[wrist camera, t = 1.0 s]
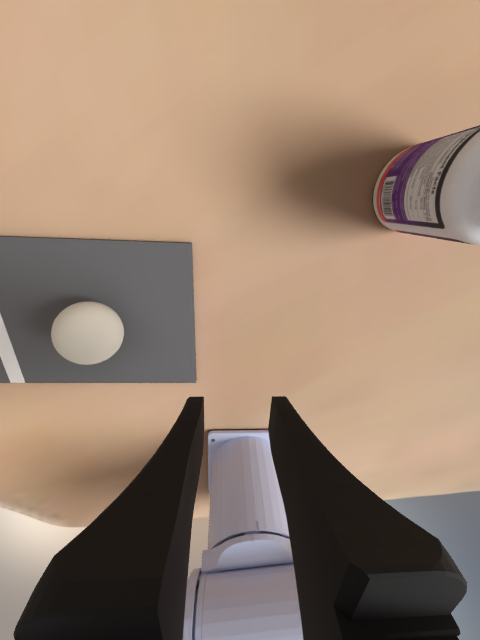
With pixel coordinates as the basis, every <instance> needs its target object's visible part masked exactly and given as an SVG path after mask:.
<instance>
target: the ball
mask: <svg viewBox="0 0 480 640" xmlns="http://www.w3.org/2000/svg"><path fill="white" fill-rule="evenodd" d="M123 337H124V327H123V323H122V321H121V319H120V317H119V316H118V314H117V313H116V312H115V311H114V310H113V309H111V308H110V307H108V306H106V305H104V304H101V303H98V302H91V301H87V302H79V303H76V304H73V305H70V306H69V307H67V308H65V309H64V310H63V311H61V312H60V313H59V315H58V316H57V317H56V319H55V320H54V322H53V325H52V329H51V338H52V343H53V345H54V347H55V349H56V350H57V352H58V353H59V354H60V355H61V356H62V357H64V358H65V359H67V360H69V361H71V362H74V363H77V364H83V365H91V364H96V363H100V362H103V361H105V360H107V359H108V358H110V357H111V356H113V355H114V354H115V353H116V352H117V350H118V349H119V348H120V346H121V344H122V341H123Z"/></svg>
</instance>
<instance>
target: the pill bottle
mask: <svg viewBox="0 0 480 640" xmlns="http://www.w3.org/2000/svg"><path fill="white" fill-rule="evenodd" d="M373 205H374V210H375V213H376V215H377V217H378V219H379V220H380V222H381V223H382V224H383V225H384V226H386V227H387V228H389V229H391V230H394V231H397V232H401V233H406V234H413V235H419V236H426V237H432V238H438V239H443V240H449V241H455V242H461V243H467V244H476V245H480V125H479V126H476V127H473V128H470V129H466V130H463V131H460V132H457V133H454V134H451V135H447V136H444V137H441V138H437V139H434V140H431V141H427V142H424V143H420V144H417V145H415V146H412V147H409V148H407V149H405V150H403V151H401V152H400V153H398V154H397V155H396V156H395V157H393V158H392V159H391V160H390V161H389V162H388V164H387V165H386V166H385V167H384V169H383V170H382V172H381V174H380V175H379V177H378V180H377V182H376V185H375V189H374V195H373Z"/></svg>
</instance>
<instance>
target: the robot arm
mask: <svg viewBox="0 0 480 640" xmlns="http://www.w3.org/2000/svg"><path fill="white" fill-rule="evenodd" d="M203 442H204V397H189V398H188V399H187V401H186V404H185V406H184V408H183V410H182V412H181V414H180V415H179V417H178V419H177V421H176V422H175V424H174V426H173V427H172V429H171V431H170V432H169V434H168V435H167V437H166V438H165V440H164V441H163V443H162V444H161V445H160V447H159V448H158V450H157V451H156V453H155V454H154V455H153V457H152V458H151V459H150V461H149V462H148V463H147V464H146V466H145V467H144V468H143V469H142V471H141V472H140V473H139V474H138V475H137V476H136V478H135V479H134V480H133V481H132V482H131V483H130V484H129V485H128V487H127V488H126V489H125V490H124V491H123V492H122V493H121V494H120V495H119V496H118V497H117V498H116V499H115V500H114V501H113V502H112V503H111V504H110V505H109V506H108V507H107V508H106V509H105V510H104V511H103V512H102V513H101V514H100V515H99V516H98V517H97V518H96V519H95V520H94V521H93V522H92V523H91V524H90V525H89V526H88V527H87V528H85V529H84V530H83V531H82V532H81V533H80V534H79V535H78V536H77V537H75V538H74V539H73V540H72V541H71V542H70V543H68V544H67V545H66V546H65V547H64V548H63V549H62V550H60V551H59V552H58V553H57V554H56V555H55V556H54V557H53V559H52V560H51V562H50V563H49V565H48V567H47V568H46V570H45V572H44V573H43V575H42V577H41V578H40V580H39V582H38V583H37V585H36V587H35V589H34V591H33V593H32V595H31V597H30V599H29V601H28V603H27V605H26V607H25V609H24V611H23V613H22V615H21V617H20V619H19V621H18V623H17V625H16V628H15V631H14V638H15V640H459V639H458V637H457V636H458V635H460V630H459V627H458V626H457V624H456V622H455V620H454V618H453V617H452V615H451V612H452V611H453V610H454V608H455V607H456V606H457V605H458V603H459V602H460V601H461V600H462V599H463V597H464V595H465V594H466V590H467V582H466V580H465V579H464V577H463V575H462V574H461V572H460V571H459V569H458V567H457V566H456V564H455V563H454V561H453V559H452V558H451V556H450V555H449V553H448V552H447V550H446V549H445V548H444V546H443V545H442V544H441V542H440V541H439V540H438V539H437V538H436V537H434V536H433V535H431V534H430V533H428V532H427V531H425V530H424V529H422V528H421V527H420V526H418V525H417V524H415V523H414V522H412V521H411V520H409V519H408V518H406V517H405V516H403V515H402V514H400V513H399V512H398V511H397V510H395V509H394V508H393V507H391V506H390V505H389V504H387V503H386V502H385V501H383V500H382V499H381V498H380V497H378V496H377V495H376V494H375V493H374V492H372V491H371V490H370V489H369V488H368V487H366V486H365V485H364V484H363V483H362V482H360V481H359V480H358V479H357V478H356V477H355V476H354V475H352V474H351V473H350V472H349V471H348V470H347V469H346V468H345V467H344V466H343V465H342V464H341V463H340V462H339V461H338V460H337V459H336V458H335V457H334V456H333V455H332V454H331V453H330V452H329V451H328V450H327V448H326V447H325V446H324V445H323V444H322V443H321V442H320V441H319V439H318V438H317V437H316V436H315V435H314V433H313V432H312V431H311V430H310V429H309V427H308V426H307V425H306V424H305V422H304V421H303V420H302V418H301V417H300V416H299V414H298V413H297V412H296V410H295V409H294V407H293V406H292V405H291V403H290V402H289V400H288V399H287V398H286V397H272V402H271V411H270V419H269V428H268V430H226V431H210V432H209V433H208V492H209V494H210V511H209V532H208V550H204V551H203V553H202V568H198V569H194V570H193V571H192V572H191V575H190V577H189V578H188V579H187V576H188V563H189V550H190V539H191V528H192V518H193V510H194V503H195V497H196V491H197V485H198V479H199V473H200V467H201V461H202V455H203Z"/></svg>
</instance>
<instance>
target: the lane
mask: <svg viewBox="0 0 480 640" xmlns="http://www.w3.org/2000/svg"><path fill="white" fill-rule="evenodd" d="M87 301H91V302H98V303H101V304H104V305H106V306H108V307H110V308H111V309H113V310H114V311H115V312H116V313H117V314H118V316H119V317H120V319H121V321H122V323H123V327H124V337H123V341H122V344H121V346H120V348H119V349H118V350H117V352H116V353H115V354H114V355H113V356H111V357H110V358H108V359H107V360H105V361H103V362H100V363H96V364H91V365H83V364H77V363H74V362H71V361H69V360H67V359H65V358H64V357H62V356H61V355H60V354H59V353H58V352H57V350H56V349H55V347H54V345H53V343H52V338H51V329H52V325H53V322H54V320H55V319H56V317H57V316H58V315H59V313H60V312H61V311H63V310H64V309H65V308H67V307H69V306H70V305H73V304H76V303H79V302H87ZM0 383H196V352H195V321H194V289H193V258H192V243H185V242H157V241H129V240H101V239H73V238H45V237H17V236H0Z"/></svg>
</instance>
